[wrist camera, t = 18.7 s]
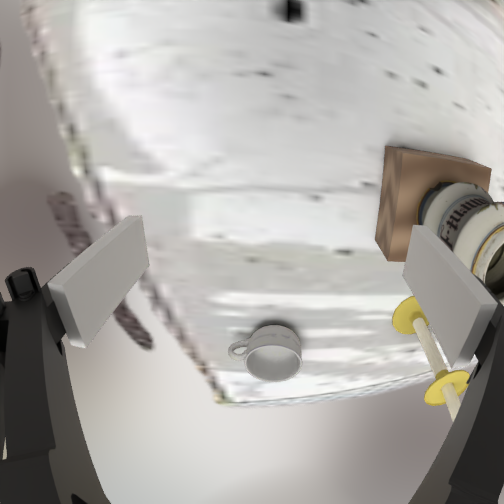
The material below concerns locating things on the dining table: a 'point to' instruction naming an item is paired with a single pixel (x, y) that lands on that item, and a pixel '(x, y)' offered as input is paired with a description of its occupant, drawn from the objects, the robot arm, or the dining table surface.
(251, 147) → the dining table surface
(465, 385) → the rod with yellow discs
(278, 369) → the teacup
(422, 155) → the walnut stand
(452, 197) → the apothecary jar
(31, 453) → the robot arm
